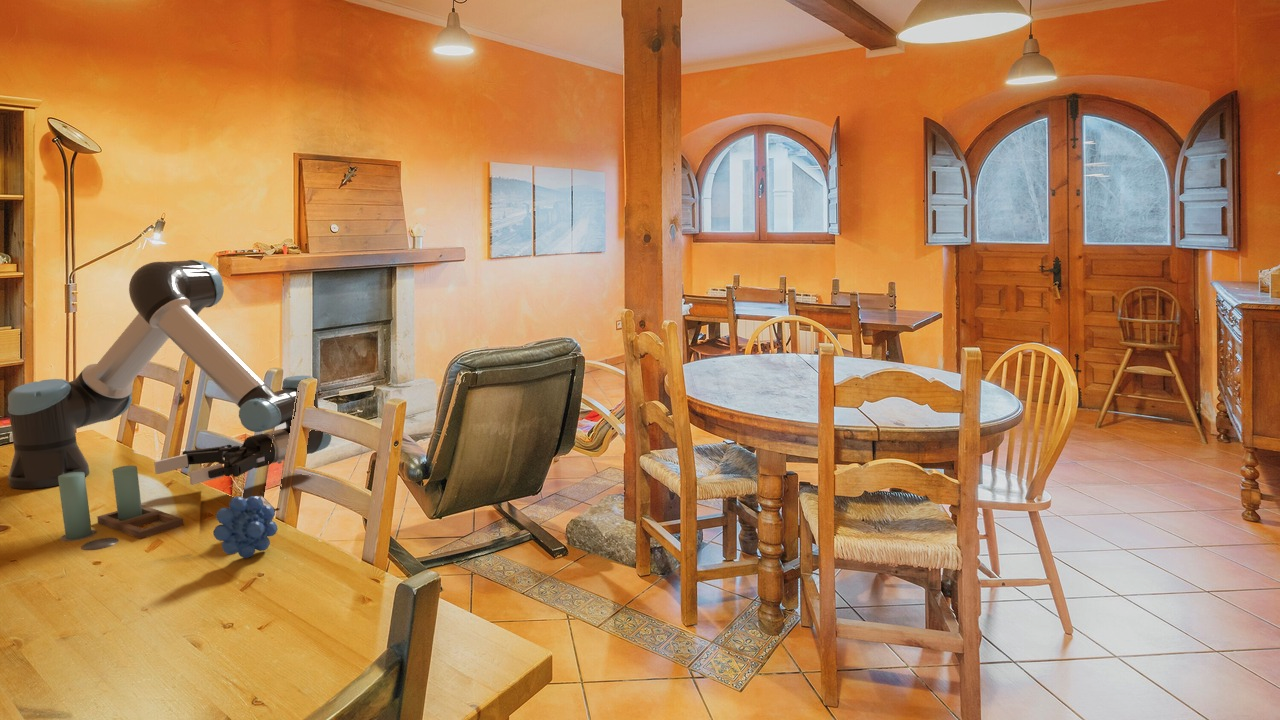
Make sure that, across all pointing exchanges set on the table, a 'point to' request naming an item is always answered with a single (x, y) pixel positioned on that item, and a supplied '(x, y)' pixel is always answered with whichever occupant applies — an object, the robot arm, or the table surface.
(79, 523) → the pin
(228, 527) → the blue flower wheel
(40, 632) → the table surface
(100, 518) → the brown wooden peg holder
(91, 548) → the pattern plate
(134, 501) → the teal pin
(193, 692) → the table surface
